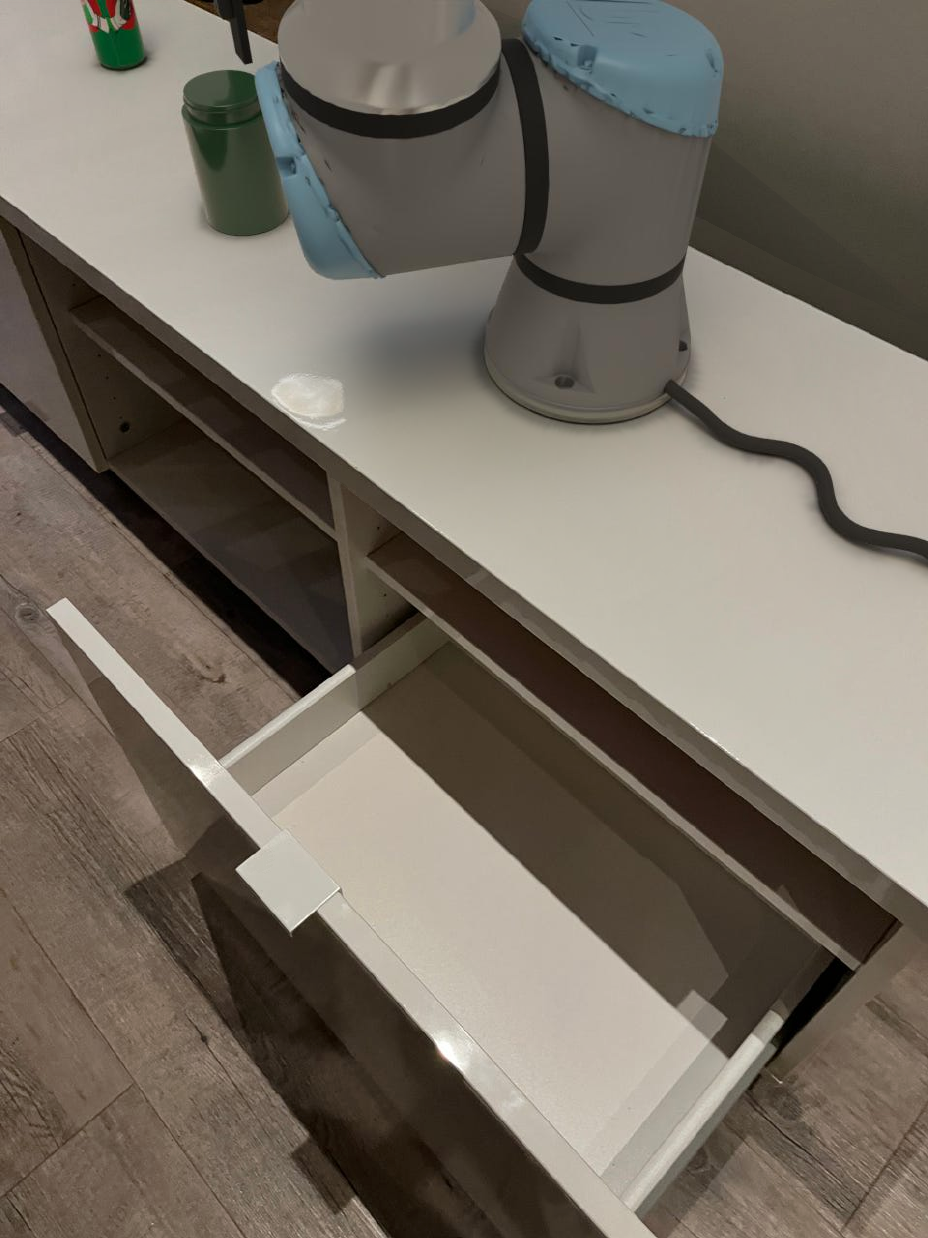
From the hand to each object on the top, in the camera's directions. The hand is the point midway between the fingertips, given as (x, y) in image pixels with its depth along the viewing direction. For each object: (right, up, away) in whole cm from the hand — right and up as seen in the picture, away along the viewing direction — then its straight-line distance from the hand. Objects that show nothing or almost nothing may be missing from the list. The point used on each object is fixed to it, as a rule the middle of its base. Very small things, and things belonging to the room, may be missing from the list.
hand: (318, 43), depth 82 cm
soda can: (-24, +9, +17) cm, 30 cm away
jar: (-6, -15, 0) cm, 16 cm away
